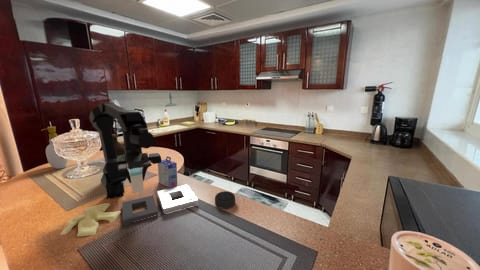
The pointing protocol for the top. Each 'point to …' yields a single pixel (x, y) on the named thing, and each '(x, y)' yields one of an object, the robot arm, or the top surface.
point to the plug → (136, 180)
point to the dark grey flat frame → (131, 217)
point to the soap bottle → (50, 153)
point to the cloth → (91, 220)
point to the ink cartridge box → (167, 172)
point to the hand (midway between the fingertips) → (136, 181)
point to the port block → (184, 202)
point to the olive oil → (119, 149)
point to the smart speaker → (225, 199)
